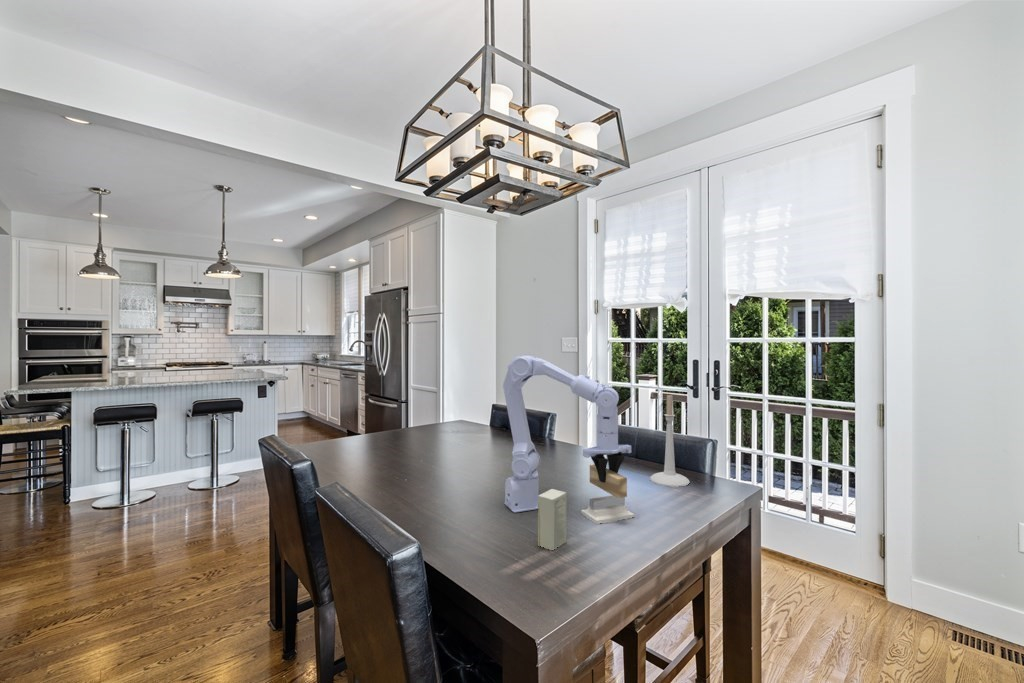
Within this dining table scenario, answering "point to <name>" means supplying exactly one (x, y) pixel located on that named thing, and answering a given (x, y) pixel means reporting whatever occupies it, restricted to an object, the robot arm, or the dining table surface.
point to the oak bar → (610, 482)
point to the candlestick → (669, 455)
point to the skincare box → (551, 519)
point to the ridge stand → (607, 509)
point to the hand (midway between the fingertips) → (607, 480)
